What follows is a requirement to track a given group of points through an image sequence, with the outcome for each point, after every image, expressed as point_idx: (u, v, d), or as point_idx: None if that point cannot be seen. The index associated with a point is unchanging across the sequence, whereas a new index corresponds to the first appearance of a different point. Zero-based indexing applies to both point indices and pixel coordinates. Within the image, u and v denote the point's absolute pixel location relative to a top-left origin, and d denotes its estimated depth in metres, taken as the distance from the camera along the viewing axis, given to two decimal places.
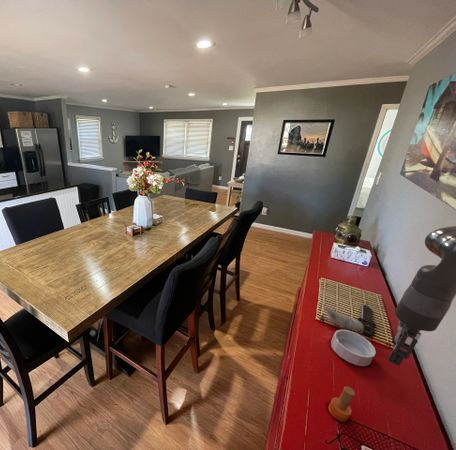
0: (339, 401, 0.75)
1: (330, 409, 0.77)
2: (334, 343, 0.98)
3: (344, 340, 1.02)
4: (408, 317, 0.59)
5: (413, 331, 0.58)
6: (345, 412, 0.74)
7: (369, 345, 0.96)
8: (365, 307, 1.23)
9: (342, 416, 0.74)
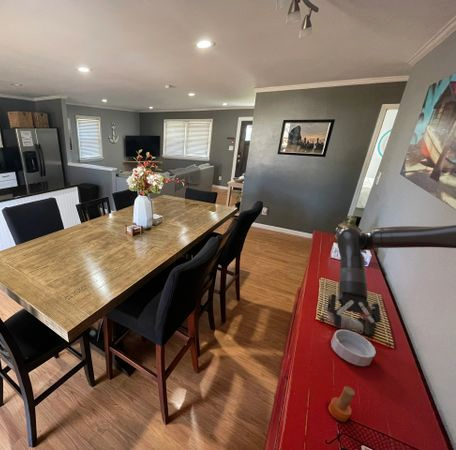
0: (339, 401, 0.75)
1: (330, 409, 0.77)
2: (334, 343, 0.98)
3: (344, 340, 1.02)
4: (339, 287, 0.86)
5: (340, 295, 0.83)
6: (345, 412, 0.74)
7: (369, 345, 0.96)
8: None
9: (342, 416, 0.74)
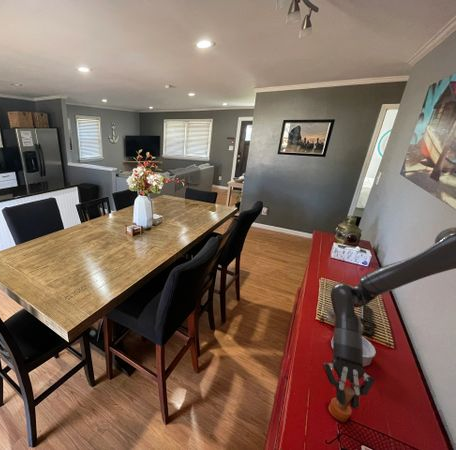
0: None
1: (330, 409, 0.77)
2: None
3: None
4: (333, 349, 0.80)
5: (334, 359, 0.78)
6: (345, 412, 0.74)
7: (369, 345, 0.96)
8: (365, 307, 1.23)
9: (342, 416, 0.74)
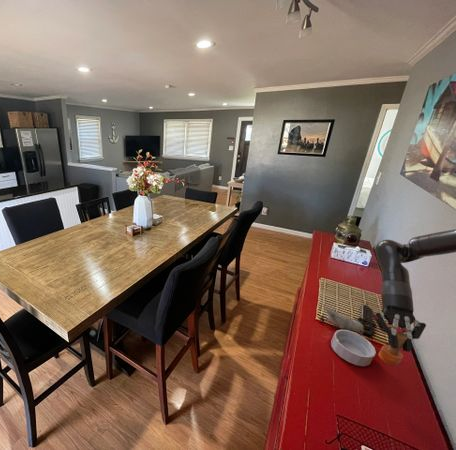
0: (391, 347, 0.79)
1: (381, 355, 0.81)
2: (334, 343, 0.98)
3: (344, 340, 1.02)
4: (382, 301, 0.84)
5: (384, 309, 0.82)
6: (397, 356, 0.78)
7: (369, 345, 0.96)
8: (365, 307, 1.23)
9: (394, 360, 0.78)
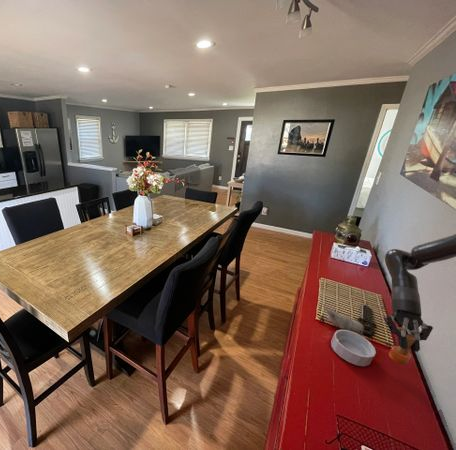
0: (400, 347, 0.87)
1: (391, 355, 0.89)
2: (334, 343, 0.98)
3: (344, 340, 1.02)
4: (392, 305, 0.92)
5: (394, 312, 0.89)
6: (406, 356, 0.86)
7: (369, 345, 0.96)
8: (365, 307, 1.23)
9: (404, 359, 0.86)
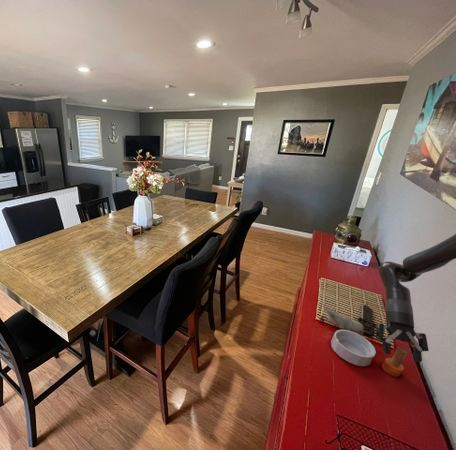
0: (393, 359, 0.90)
1: (384, 367, 0.91)
2: (334, 343, 0.98)
3: (344, 340, 1.02)
4: (386, 317, 0.94)
5: (388, 324, 0.92)
6: (398, 368, 0.88)
7: (369, 345, 0.96)
8: (365, 307, 1.23)
9: (396, 371, 0.88)
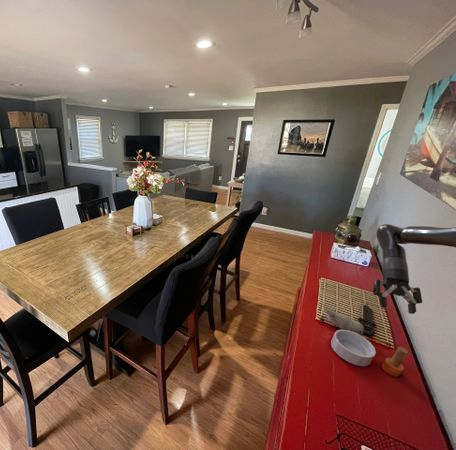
0: (393, 359, 0.90)
1: (384, 367, 0.91)
2: (334, 343, 0.98)
3: (344, 340, 1.02)
4: None
5: (384, 281, 0.97)
6: (398, 368, 0.88)
7: (369, 345, 0.96)
8: (365, 307, 1.23)
9: (396, 371, 0.88)
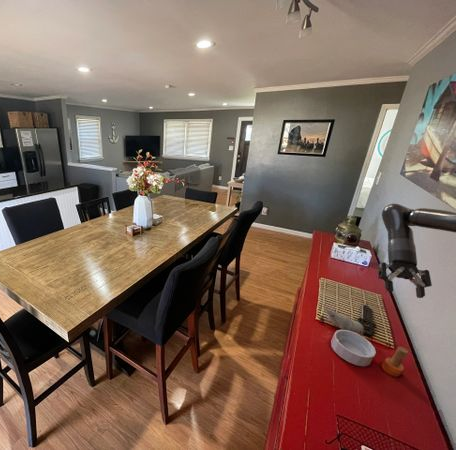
0: (393, 359, 0.90)
1: (384, 367, 0.91)
2: (334, 343, 0.98)
3: (344, 340, 1.02)
4: (388, 257, 0.93)
5: (390, 263, 0.90)
6: (398, 368, 0.88)
7: (369, 345, 0.96)
8: (365, 307, 1.23)
9: (396, 371, 0.88)
